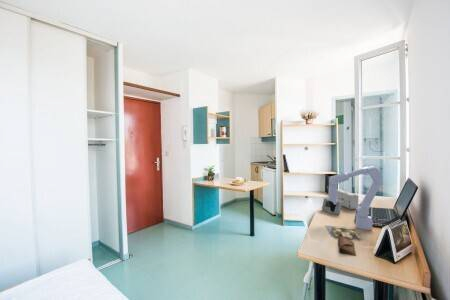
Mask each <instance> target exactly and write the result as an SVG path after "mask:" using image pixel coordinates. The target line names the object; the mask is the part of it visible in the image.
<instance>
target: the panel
mask: <svg viewBox="0 0 450 300" xmlns="http://www.w3.org/2000/svg"><path fill="white" fill-rule="evenodd" d="M343 227H344V226H339V227H332V233H333V234H334V236H335V237H334V238H335V239H339V238H338V235H337V232H336V231H335V230H336V229H339V230H341V231H342V232H341V233H340V234H341V235H342V236H343V237H345V238H346V239H348V240H353V239H352V236H351V233H349V231H350V230H352V231H355V232H357V229H356V228H354V227H351V228H343ZM357 233H358V232H357ZM357 233H356V234H354V236H355V237H356V238H357V239H356V240H357V241H361V238H362V237H361V238H360V237H359V235H360V234H359V233H358V234H359V235H358V234H357Z"/></svg>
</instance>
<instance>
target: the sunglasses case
mask: <svg viewBox="0 0 450 300" xmlns="http://www.w3.org/2000/svg"><path fill="white" fill-rule="evenodd" d="M338 252H339V253H340V254H343V255H347V256H353V257H357V254H356V250H355V242H354V241H352V240H351V239H346V238H345V237H343V236H342V235H341V236H339V238H338Z"/></svg>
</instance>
